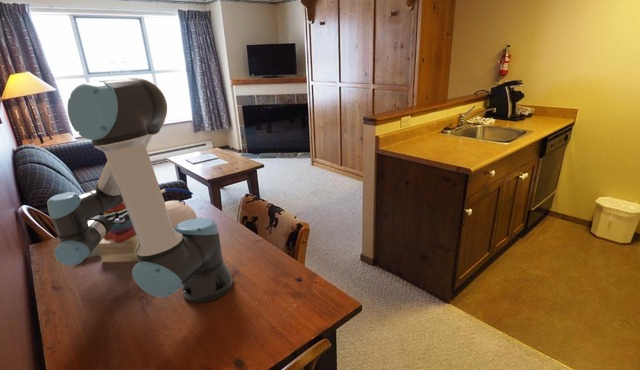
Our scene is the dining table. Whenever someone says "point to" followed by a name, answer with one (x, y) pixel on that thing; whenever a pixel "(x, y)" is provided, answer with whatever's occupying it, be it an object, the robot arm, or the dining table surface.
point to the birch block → (118, 250)
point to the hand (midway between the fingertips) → (120, 203)
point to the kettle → (179, 208)
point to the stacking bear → (119, 226)
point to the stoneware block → (94, 252)
